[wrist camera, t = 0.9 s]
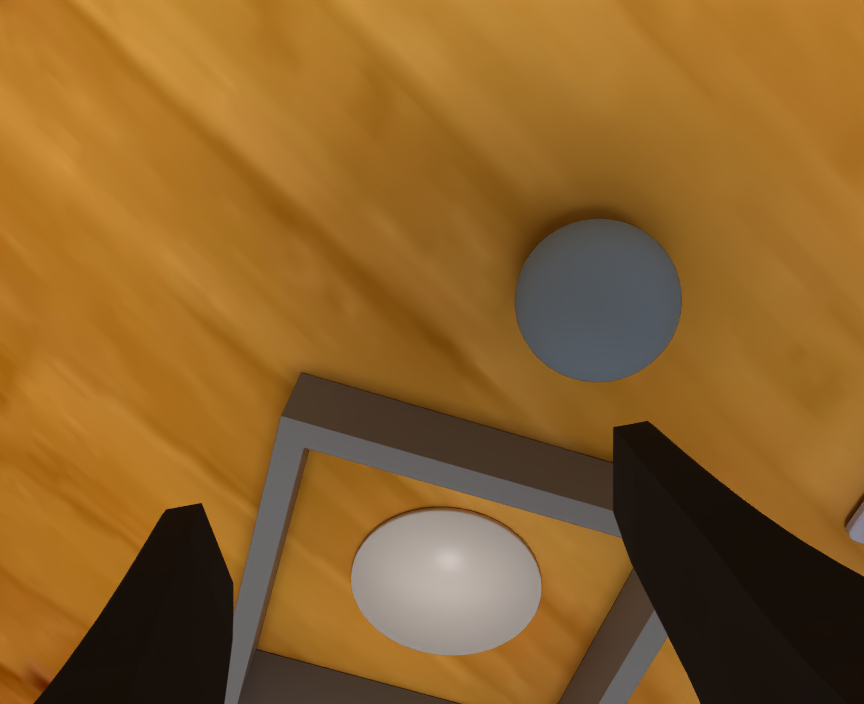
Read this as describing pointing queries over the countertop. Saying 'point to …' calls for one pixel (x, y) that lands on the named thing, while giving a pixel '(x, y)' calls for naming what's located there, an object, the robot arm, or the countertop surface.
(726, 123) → the countertop surface
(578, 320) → the ball
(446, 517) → the grey square frame
